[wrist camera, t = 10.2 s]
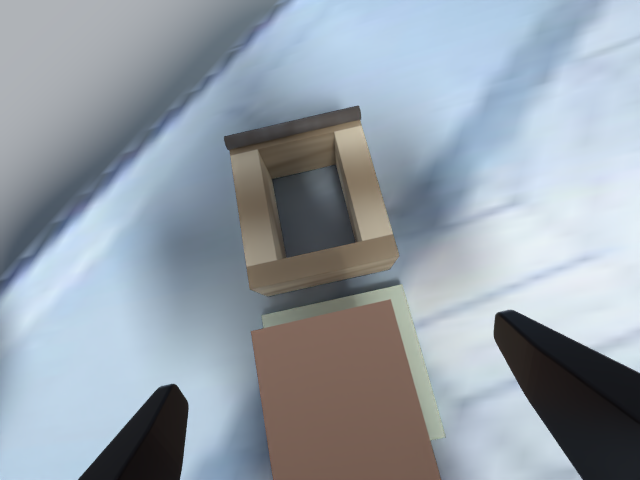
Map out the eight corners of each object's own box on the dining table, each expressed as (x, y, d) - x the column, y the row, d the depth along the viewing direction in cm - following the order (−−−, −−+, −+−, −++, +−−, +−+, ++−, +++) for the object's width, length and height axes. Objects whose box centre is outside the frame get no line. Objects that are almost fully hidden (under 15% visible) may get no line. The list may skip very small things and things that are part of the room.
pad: (443, 434, 16) (445, 437, 15) (286, 468, 16) (285, 471, 15) (400, 285, 18) (402, 284, 17) (263, 315, 18) (261, 315, 18)
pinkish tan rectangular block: (388, 418, 16) (474, 600, 5) (329, 431, 16) (296, 639, 5) (362, 317, 17) (391, 299, 7) (308, 329, 17) (250, 331, 7)
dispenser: (389, 269, 18) (402, 252, 14) (267, 296, 18) (245, 287, 14) (354, 144, 20) (357, 99, 16) (246, 169, 21) (222, 130, 17)
